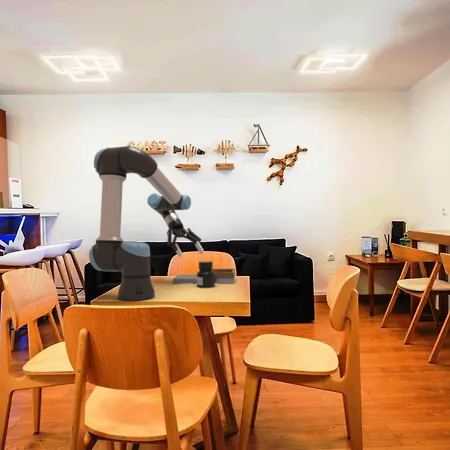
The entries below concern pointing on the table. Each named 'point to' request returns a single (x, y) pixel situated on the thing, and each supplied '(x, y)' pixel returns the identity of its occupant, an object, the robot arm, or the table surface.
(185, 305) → the table surface
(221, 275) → the holder
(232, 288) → the table surface
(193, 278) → the hinge
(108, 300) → the table surface
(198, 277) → the ink bottle
